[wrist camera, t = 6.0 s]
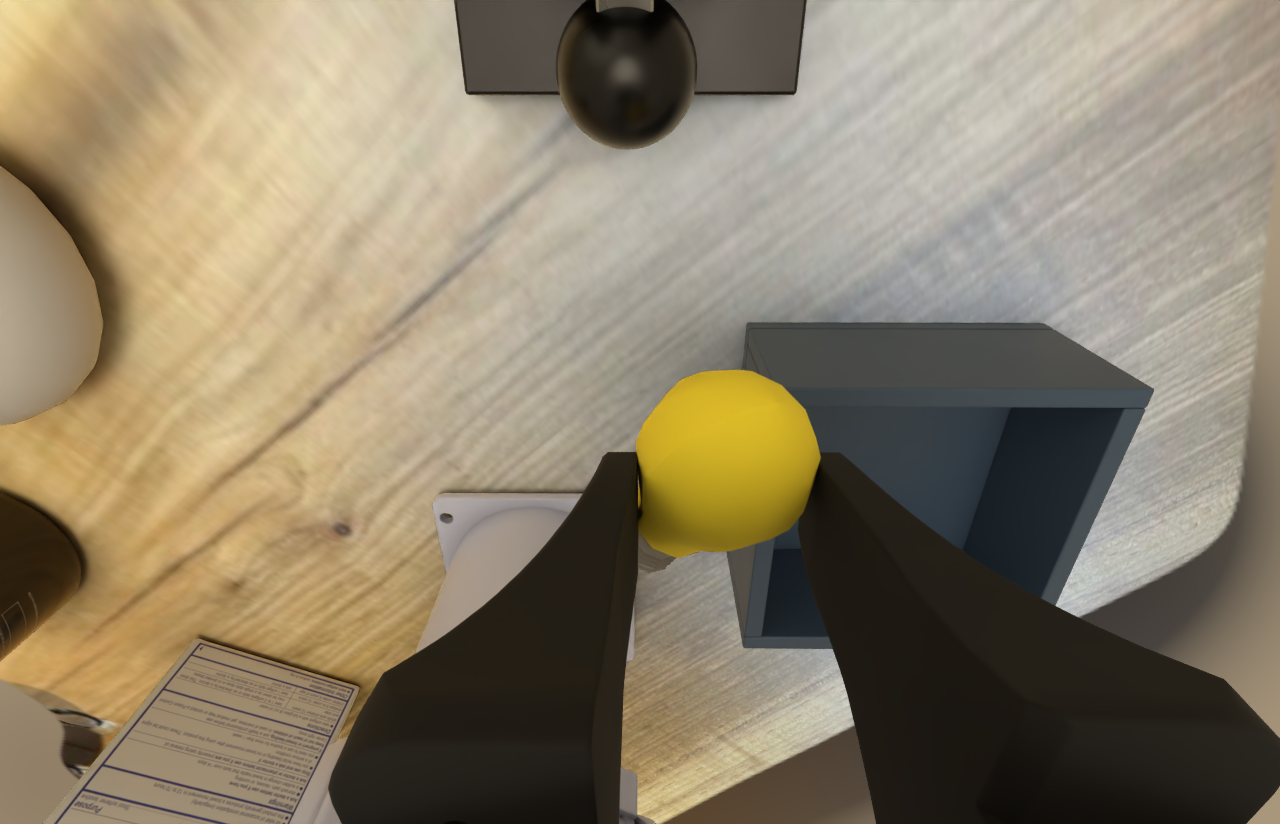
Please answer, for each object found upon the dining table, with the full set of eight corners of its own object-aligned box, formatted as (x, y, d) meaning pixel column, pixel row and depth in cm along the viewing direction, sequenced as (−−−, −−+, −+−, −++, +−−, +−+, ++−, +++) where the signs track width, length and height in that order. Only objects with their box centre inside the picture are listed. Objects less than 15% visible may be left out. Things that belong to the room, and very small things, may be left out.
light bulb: (821, 349, 12) (887, 501, 10) (685, 497, 16) (711, 628, 14) (675, 311, 11) (715, 477, 9) (568, 483, 15) (576, 625, 13)
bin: (966, 551, 25) (1035, 650, 21) (725, 549, 25) (743, 649, 21) (1044, 322, 20) (1156, 389, 16) (746, 322, 21) (774, 388, 16)
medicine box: (185, 686, 30) (27, 891, 22) (197, 631, 28) (30, 834, 20) (342, 732, 32) (245, 937, 24) (363, 682, 30) (266, 889, 22)
